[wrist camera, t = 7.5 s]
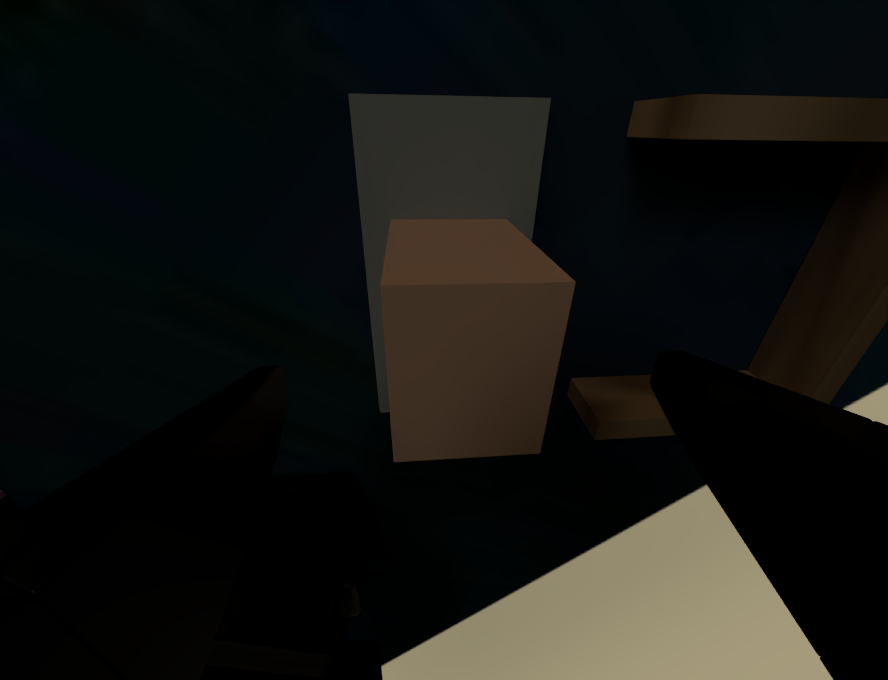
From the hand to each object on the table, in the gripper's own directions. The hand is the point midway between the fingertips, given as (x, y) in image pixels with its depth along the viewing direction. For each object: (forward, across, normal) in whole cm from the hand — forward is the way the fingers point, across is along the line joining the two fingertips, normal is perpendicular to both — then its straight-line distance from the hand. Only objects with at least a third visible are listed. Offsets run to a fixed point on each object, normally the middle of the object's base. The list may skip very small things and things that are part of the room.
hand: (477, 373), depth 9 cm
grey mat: (+6, 0, 0) cm, 7 cm away
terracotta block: (+6, 0, 0) cm, 6 cm away
